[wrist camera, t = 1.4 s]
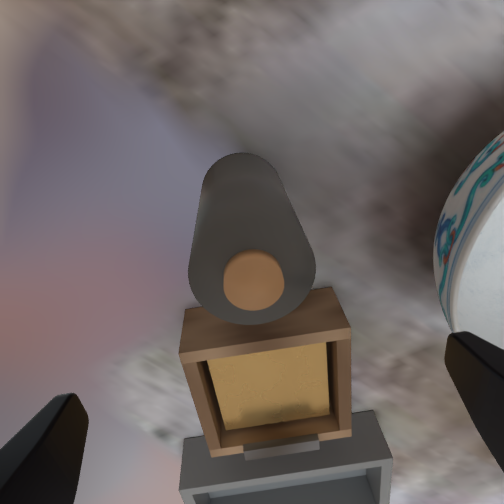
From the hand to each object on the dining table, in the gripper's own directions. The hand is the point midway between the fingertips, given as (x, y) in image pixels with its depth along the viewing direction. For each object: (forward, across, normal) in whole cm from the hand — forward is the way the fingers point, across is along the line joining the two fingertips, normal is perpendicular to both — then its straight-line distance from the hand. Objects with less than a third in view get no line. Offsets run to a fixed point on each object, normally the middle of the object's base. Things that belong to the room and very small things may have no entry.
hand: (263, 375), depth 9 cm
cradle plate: (+11, 0, +12) cm, 16 cm away
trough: (+13, 0, +24) cm, 27 cm away
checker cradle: (+13, 0, +12) cm, 18 cm away
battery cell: (+13, 0, 0) cm, 13 cm away
